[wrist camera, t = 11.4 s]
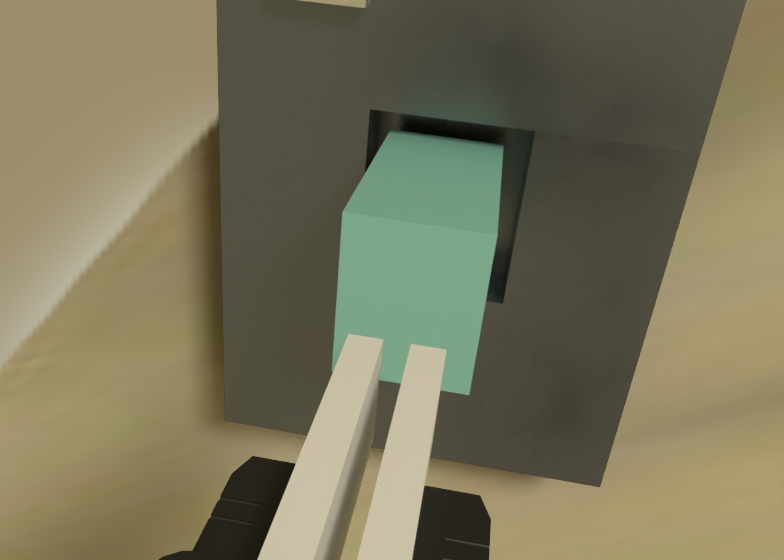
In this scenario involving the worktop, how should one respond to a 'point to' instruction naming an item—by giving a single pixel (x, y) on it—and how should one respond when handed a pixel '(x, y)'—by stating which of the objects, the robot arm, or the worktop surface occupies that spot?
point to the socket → (517, 197)
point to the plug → (420, 251)
